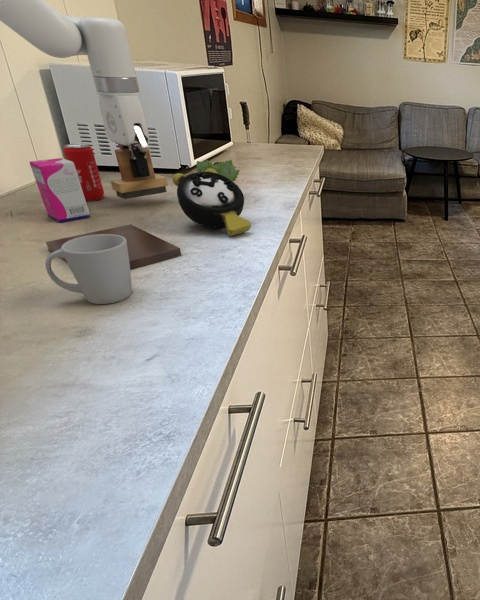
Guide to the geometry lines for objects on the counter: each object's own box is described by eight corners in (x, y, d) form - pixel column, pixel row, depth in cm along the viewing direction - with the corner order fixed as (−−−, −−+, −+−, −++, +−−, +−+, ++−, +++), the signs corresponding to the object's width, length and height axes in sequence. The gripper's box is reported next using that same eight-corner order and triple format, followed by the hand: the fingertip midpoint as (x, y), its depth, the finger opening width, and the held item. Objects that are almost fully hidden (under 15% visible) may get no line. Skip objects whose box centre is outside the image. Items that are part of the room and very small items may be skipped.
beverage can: (105, 200, 110) (91, 147, 104) (78, 202, 107) (62, 147, 102) (105, 194, 114) (91, 142, 108) (78, 196, 111) (62, 143, 105)
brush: (123, 200, 103) (111, 153, 99) (114, 196, 105) (102, 150, 101) (169, 192, 111) (160, 148, 106) (160, 188, 113) (150, 145, 108)
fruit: (237, 202, 125) (240, 204, 112) (191, 198, 120) (189, 199, 107) (238, 163, 123) (241, 160, 110) (192, 156, 118) (190, 152, 105)
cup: (138, 303, 69) (123, 249, 65) (53, 314, 65) (32, 257, 61) (141, 282, 75) (128, 231, 71) (63, 291, 71) (45, 238, 67)
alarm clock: (197, 256, 94) (147, 188, 88) (218, 233, 107) (176, 172, 100) (250, 233, 94) (204, 162, 87) (264, 213, 107) (226, 150, 100)
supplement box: (79, 211, 102) (63, 157, 97) (91, 217, 99) (75, 162, 94) (47, 216, 98) (28, 160, 93) (58, 223, 95) (39, 165, 90)
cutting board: (94, 279, 75) (91, 270, 74) (48, 249, 84) (45, 241, 83) (181, 255, 85) (180, 247, 85) (132, 231, 94) (130, 224, 93)
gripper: (79, 82, 99) (103, 171, 107) (116, 90, 91) (138, 185, 99) (118, 82, 104) (138, 166, 113) (156, 89, 97) (174, 179, 105)
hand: (138, 174), depth 106 cm, fingers closed on brush, 2 cm apart
